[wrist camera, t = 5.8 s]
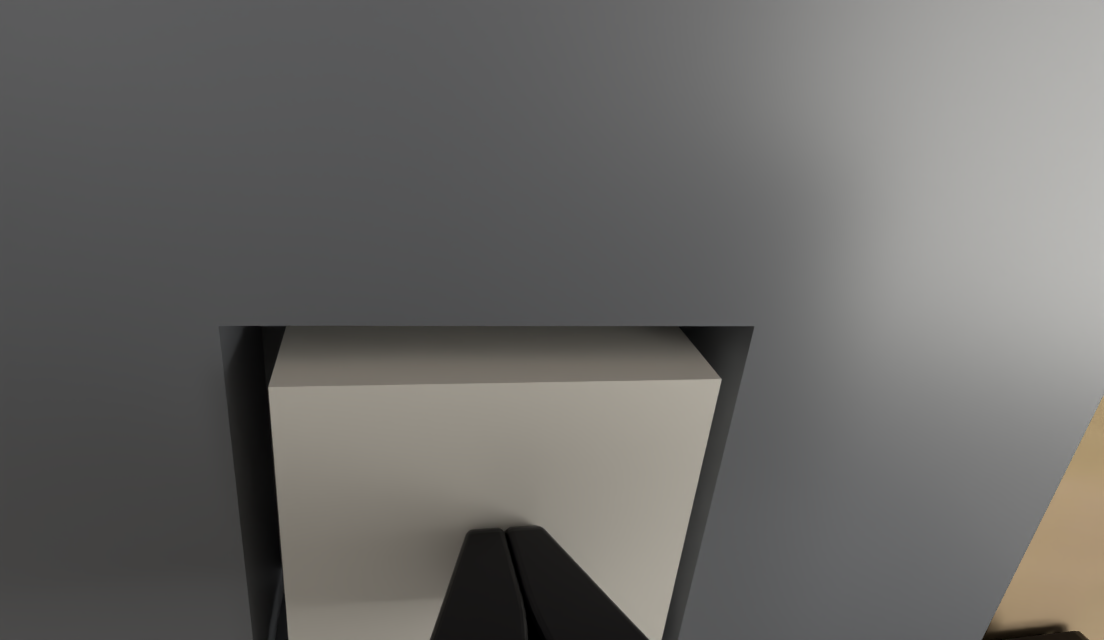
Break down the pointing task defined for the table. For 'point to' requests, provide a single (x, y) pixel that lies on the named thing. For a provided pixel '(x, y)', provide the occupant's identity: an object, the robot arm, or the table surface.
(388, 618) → the cream key
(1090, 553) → the table surface
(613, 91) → the keypad
